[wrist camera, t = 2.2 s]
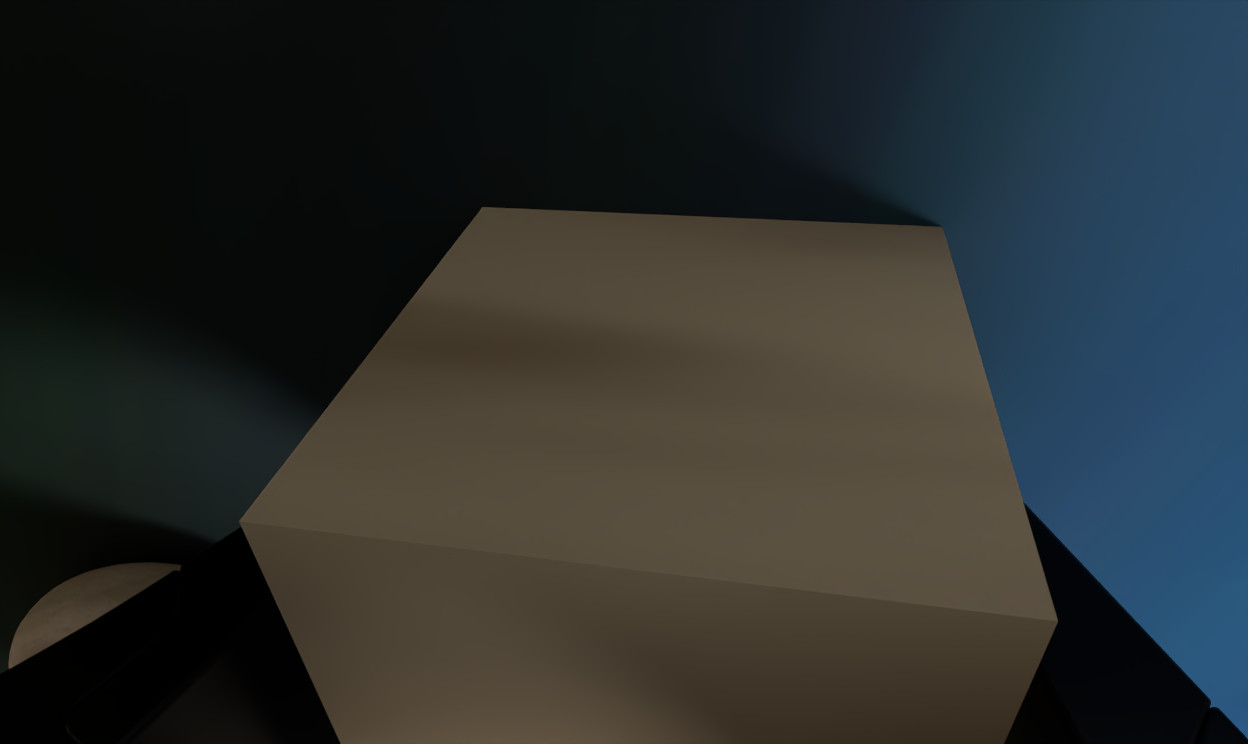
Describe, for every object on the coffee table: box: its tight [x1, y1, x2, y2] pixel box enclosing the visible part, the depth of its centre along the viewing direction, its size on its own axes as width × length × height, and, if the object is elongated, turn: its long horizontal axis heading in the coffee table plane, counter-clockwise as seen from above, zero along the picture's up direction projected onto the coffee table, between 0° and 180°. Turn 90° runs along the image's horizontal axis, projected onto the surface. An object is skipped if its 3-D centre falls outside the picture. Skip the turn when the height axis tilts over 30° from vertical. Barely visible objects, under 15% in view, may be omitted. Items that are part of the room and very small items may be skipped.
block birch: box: [239, 207, 1058, 744], centre depth 8 cm, size 5×5×5 cm
